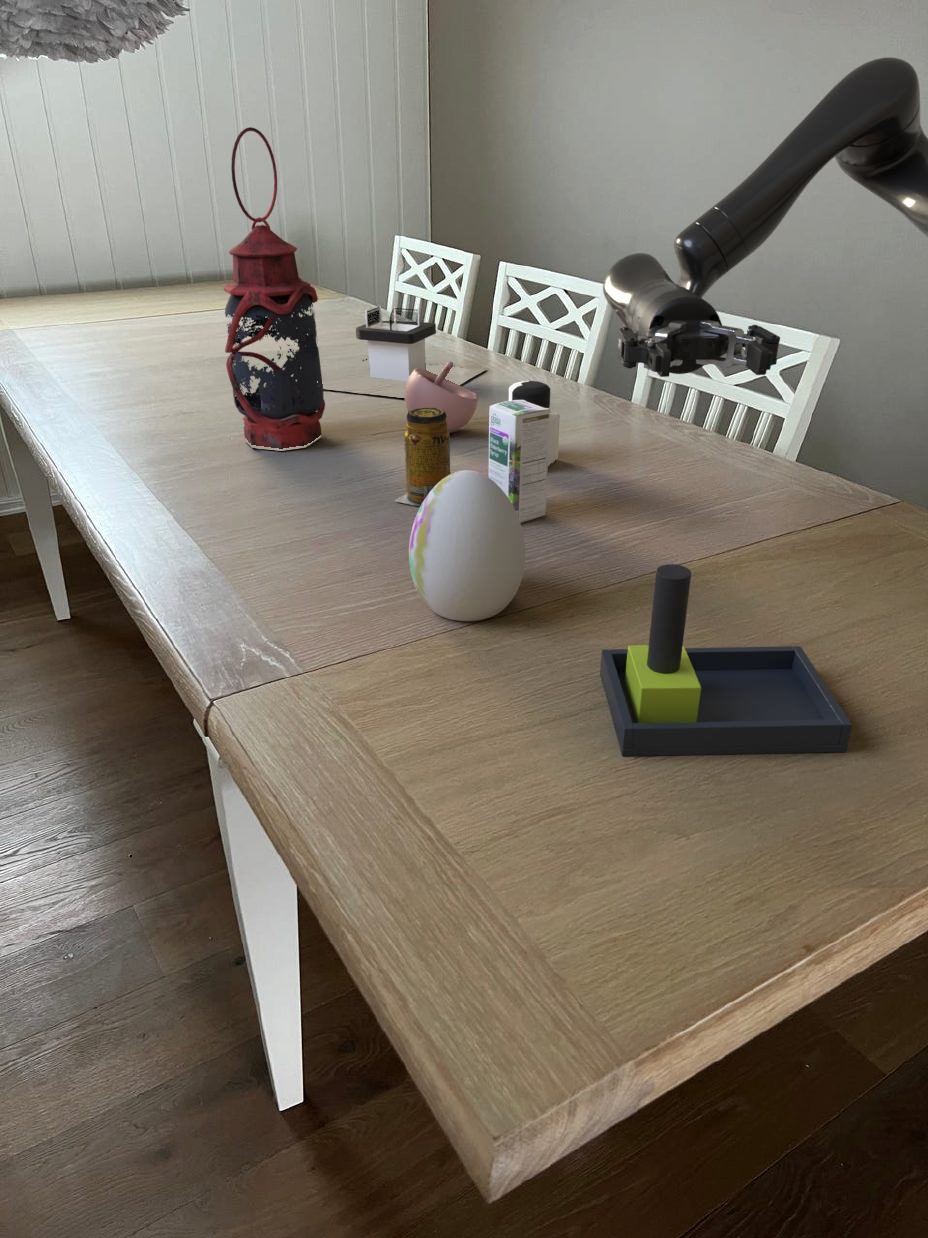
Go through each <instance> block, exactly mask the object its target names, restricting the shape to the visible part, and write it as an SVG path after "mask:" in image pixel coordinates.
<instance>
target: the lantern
mask: <svg viewBox="0 0 928 1238" xmlns="http://www.w3.org/2000/svg"><path fill="white" fill-rule="evenodd" d="M249 132H254V133H256V134H257V135H258V136H259V137H260V138H261V139H262V141H263V142H264V144H265V146H266V148H267V151H268V153H269V157H270V161H271V163H272V164H271V165H272V171H273V195H272V200H271V204H270V207H269V208H268V211H267V212H266V214H264V216H263V217H257V218H255V217H253V216H252V215H250V214H249V212H248V211H247V209H246V208H245V205H244V204H243V203H242V200H241V196H240V194H239V190H238V187H237V186H238V185H237V181H236V155H237V150H238V146H239V144H240V141H241V139H242V138H243V136H244V135H245V134H246V133H249ZM231 153H232V154H231V165H230V166H231V167H230V168H231V180H232V186H233V187H232V188H233V190H234V194H235V198H236V200H237V203H238V206H239V207H240V209H241V211H242V212H243V214H244V215H245V217H247V219H249V220H250V221H251V222H252V224H251V230H250V232H249V233H247V235H246V236H245V237H244V238H243V239H242V240H241V241H240V242H239V243H238V244H237V245H235V246H233V247H232V248H231V249H230V250H229V251H228V254H229V255H230V256H232V271H233V273H232V274H233V275H232V276H233V278H232V280H233V282H230V283H228V284H227V285H224V286H223V287H222V289H223V291H224V292H225V293H227V294H229V298H228V300H227V302H226V305H225V309H224V315H225V316H224V318H227V319H230V318H231V322H229V323H227V322H226V328H227V332H226V333H227V339H226V344H225V349H224V352H225V353H226V354H229V355H228V357H227V358H226V362H225V365H226V366H225V368H226V372H227V375H228V378H229V382H230V384H231V385H230V386H231V388H232V396H233V402H234V406H235V408H236V409H237V411H238V413H240V414H241V415H243V417H242V420H243V424H244V426H243V433H244V434H243V435H244V439H245V438H246V439H247V440H248V442H249V443H251V445H256V446H264V447H271V448H279V449H283V448H289V447H296V446H304V445H307V444H308V443H311V442H312V441H314V440H315V439H316V438H318V437H319V436H320V435H322V426H321V422H320V420H321V419H322V418H323V415H324V412H325V408H326V401H325V399H324V397H325V396H324V390H323V384H322V378H323V375H322V369H321V367H322V366H321V359H320V358H321V357H320V350H319V346H318V343H319V342H318V341H319V339H317V337H318V335H317V334H318V333H317V323H316V318H315V317H316V315H315V314H316V313H315V312H314V310H315V309H314V304H316V303H317V302H319V301H318V300H319V297H318V294H317V290H316V288H315V287H314V286H312V285H311V283H310V282H307V281H305V280H303V279H302V278H301V277H300V275H299V270H298V267H297V260H296V254H295V252H297V250H298V247H296V246H295V245H292V244H291V243H289V242H287V241H285V240H284V239H282V238H281V236H280V235H277V233H275V232H274V231H273V230H271V226H270V224H269V223H268V221H267V219H268V218H269V217H270V215H271V214H272V212H273V210H274V208H275V205H276V200H277V194H278V172H277V165H276V160H275V155H274V153H273V151H272V147H271V145H270V143H269V141H268V139H267V138H266V136H265V135H264V133H262V132H261V131H260V130H259V129H257V128H255V127H251V126H249V127H246V128H244V129H242V130H241V131H240V133H239V134H238V136H236V139H235V142H234V144H233V148H232V152H231ZM257 223H263V224H257ZM240 322H242V324H241V325H240ZM246 329H248V330H246ZM248 337H249V338H248ZM264 337H265V338H267V339H269V337H270V338H274V341H275V342H276V343H279V341H280V340H281V338H282V340H283V341H284V342H286V341H287V340H288V339H289V340H290V341H292V342H293V346H295V345H296V344H297V346H296V347H297V348H298V349H296V351H295V350H294V349H293V348H288V350H287V354H286V356H285V357H286V361H284V363H283V365H282V366H279V365H278V364H277V362H278V361H275V358H274V357H273V358H271V359H270V358H268V357H267V356H265V355H263V354H261V353H257V352H253V351H241V350H242V349H243V348H245V347H247V346H249V345H250V346H251V345H252V344H254V343H256V342H258V341H260V342H262V340H263V339H264ZM245 339H246V340H245ZM295 343H296V344H295ZM286 346H287V347H291V344H286ZM279 349H280V350H282V347H281V345H279ZM280 350H278V351H277V353H276V356H278V357H277V359H278V360H280V359H281V358H282V353H280ZM288 354H289V355H288ZM291 354H292V355H293V356H292V355H291ZM244 357H250V358H255V359H257V360H260V361H261V362H263V363H264V364H263V365H264V366H263V367H261V368H260V369H258V367H257V366H258V365H259V363H257V364H253V365H251V366H249V365H250V362H249V361H250V360H249V359H248V360H247V361H245V358H244ZM269 368H270V370H269ZM251 377H254V380H259V382H258V383H257V387H256V389H254V391H253V392H252V391H251V390H253V388H252V386H251V384H252V383H254V380H253V379H252V378H251ZM317 381H318V383H317ZM251 382H252V383H251ZM244 389H246V392H244Z"/></svg>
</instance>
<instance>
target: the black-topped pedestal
mask: <svg viewBox="0 0 928 1238" xmlns="http://www.w3.org/2000/svg"><path fill="white" fill-rule="evenodd" d="M364 313H365V315H364V316H365V324H362V325H360V326H357V327H355V338H356V339H357V340H361V341H367V351H368V358H369V370H370V377H376V378H384V379H392V380H401V381H408V378H409V377H410V375H411V373H412V372H413V371H414V369H417V368H420V369H424V370H426V363H427V362H426V339H427V338H430V337H431V336H434V335H435V334H437V324H436V322H427V321H421V319H420V308H417V309H415V308H413V309H412V308H400V307H399V308H398V307H396V306H393V308H392V310H391V312H390V316H389V320H383V319H382V306H381V305H379V306H377V307H375V308H372V309H368V310H364ZM413 314H414V315H413ZM414 316H415V317H414Z"/></svg>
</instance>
